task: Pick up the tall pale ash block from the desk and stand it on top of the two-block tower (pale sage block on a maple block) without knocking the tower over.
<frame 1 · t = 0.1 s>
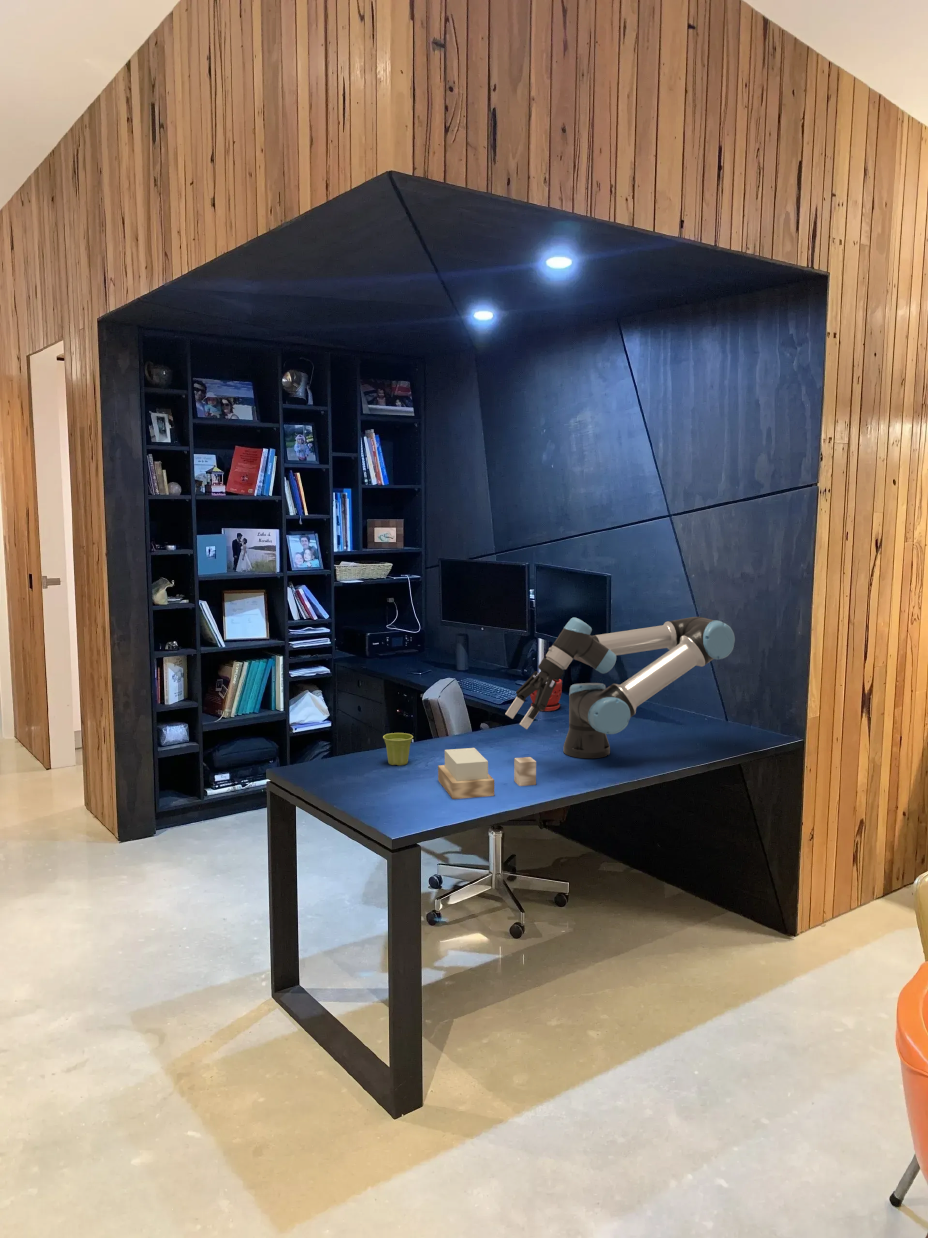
hand: (515, 721, 278), 15 cm above the table, tool tilted 35°, fingers open, 13 cm apart
ash block: (524, 783, 267), on the table
top block: (465, 772, 262), point 4 cm above the table, touching bottom block
plant pot 2: (545, 709, 364), on the table
bottom block: (465, 789, 263), on the table, touching top block
plant pot: (398, 763, 288), on the table
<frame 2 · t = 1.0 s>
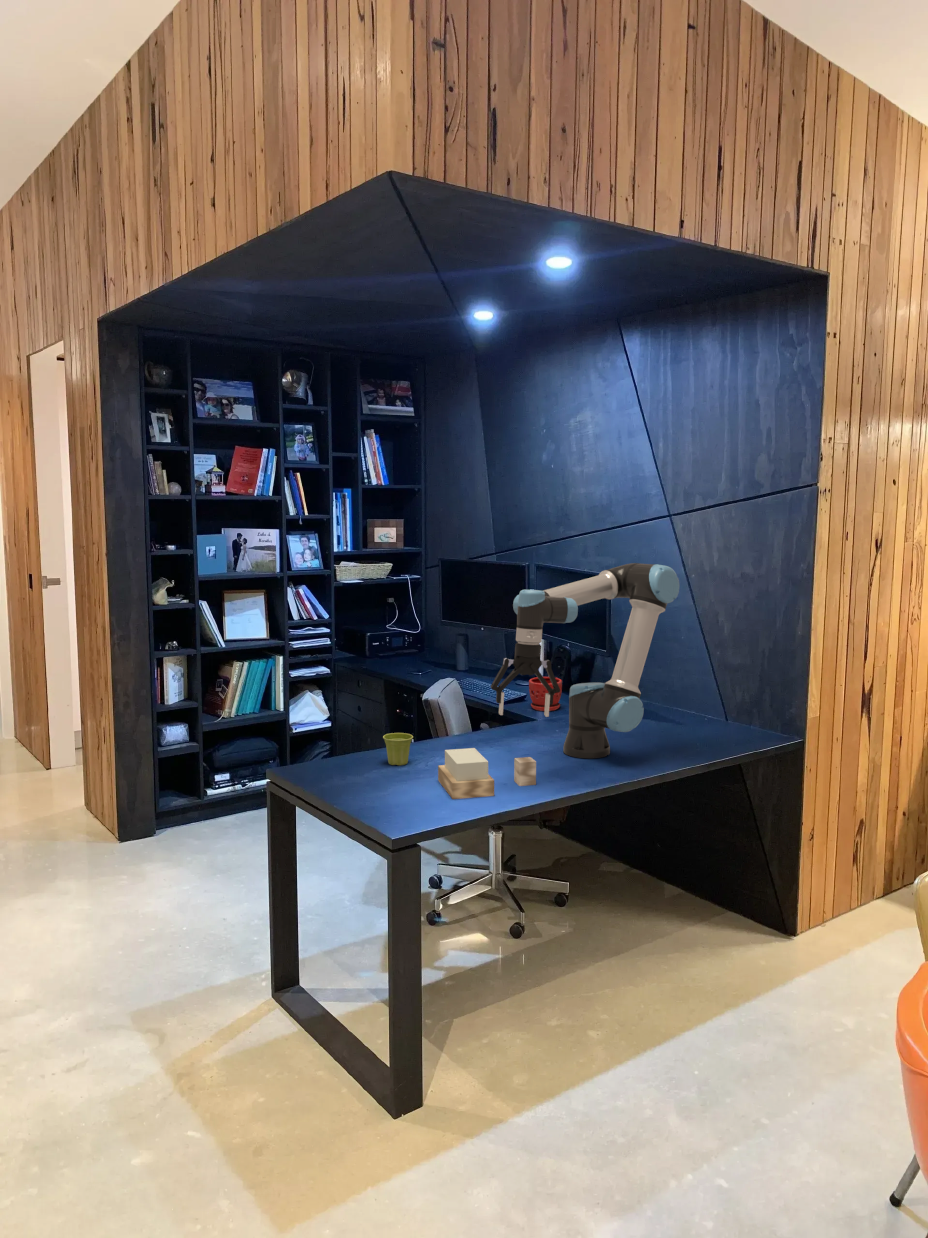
hand: (523, 715, 267), 20 cm above the table, tool pointing down, fingers open, 13 cm apart
nothing on the table moved.
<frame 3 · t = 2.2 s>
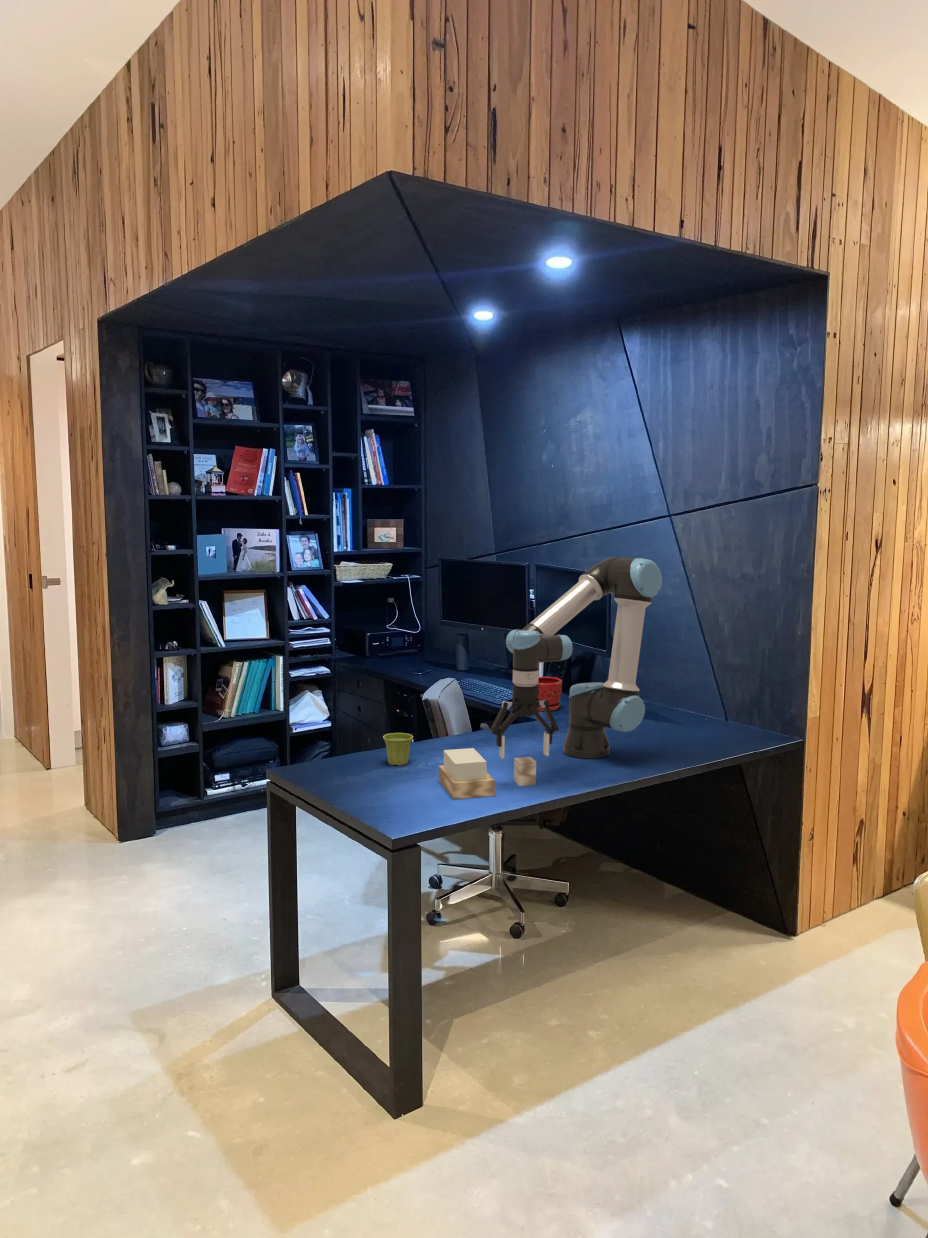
hand: (524, 756, 266), 8 cm above the table, tool pointing down, fingers open, 13 cm apart
nothing on the table moved.
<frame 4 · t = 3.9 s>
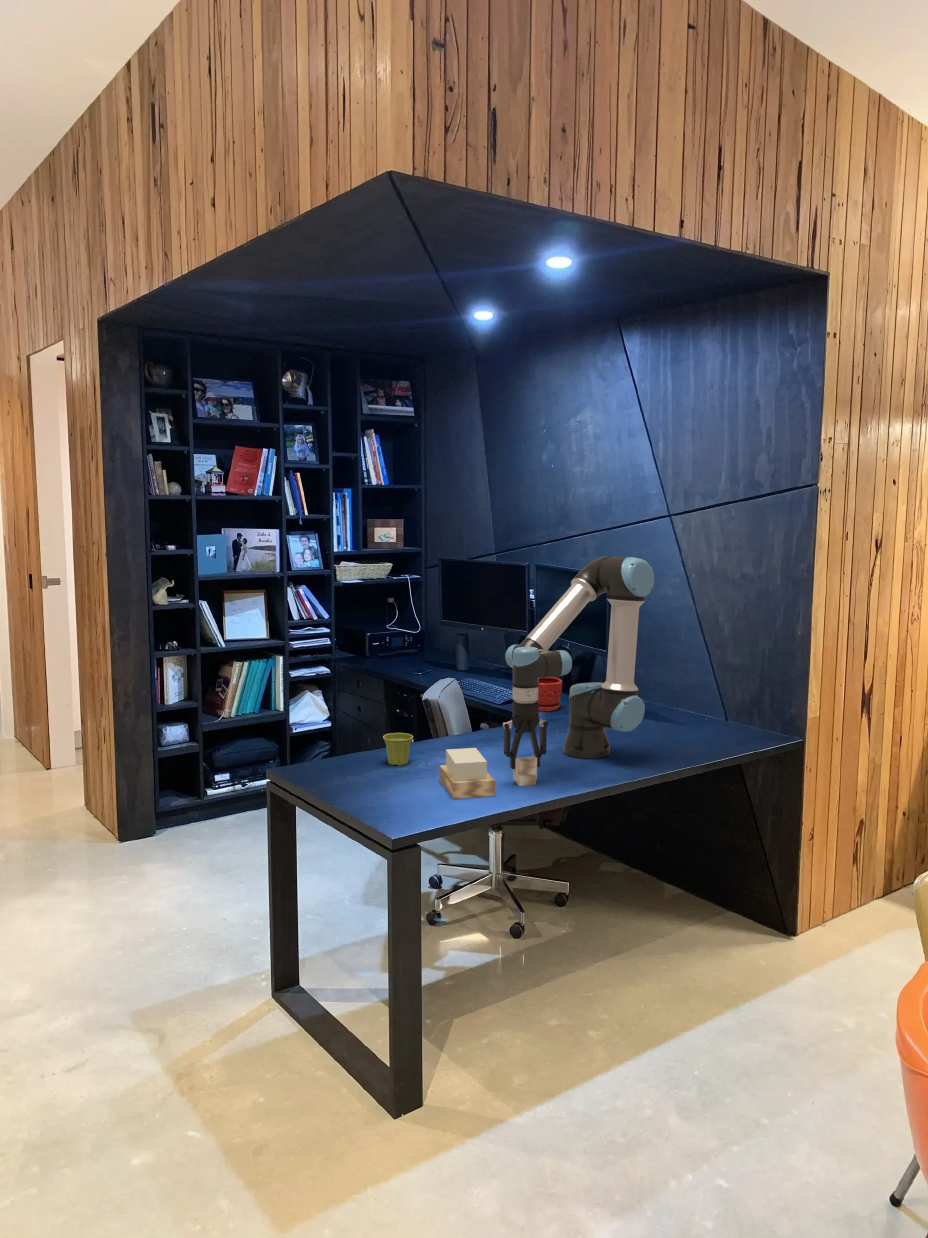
hand: (524, 778, 267), 1 cm above the table, tool pointing down, fingers closed on ash block, 5 cm apart
ash block: (524, 783, 267), on the table, touching gripper
everything else where it was.
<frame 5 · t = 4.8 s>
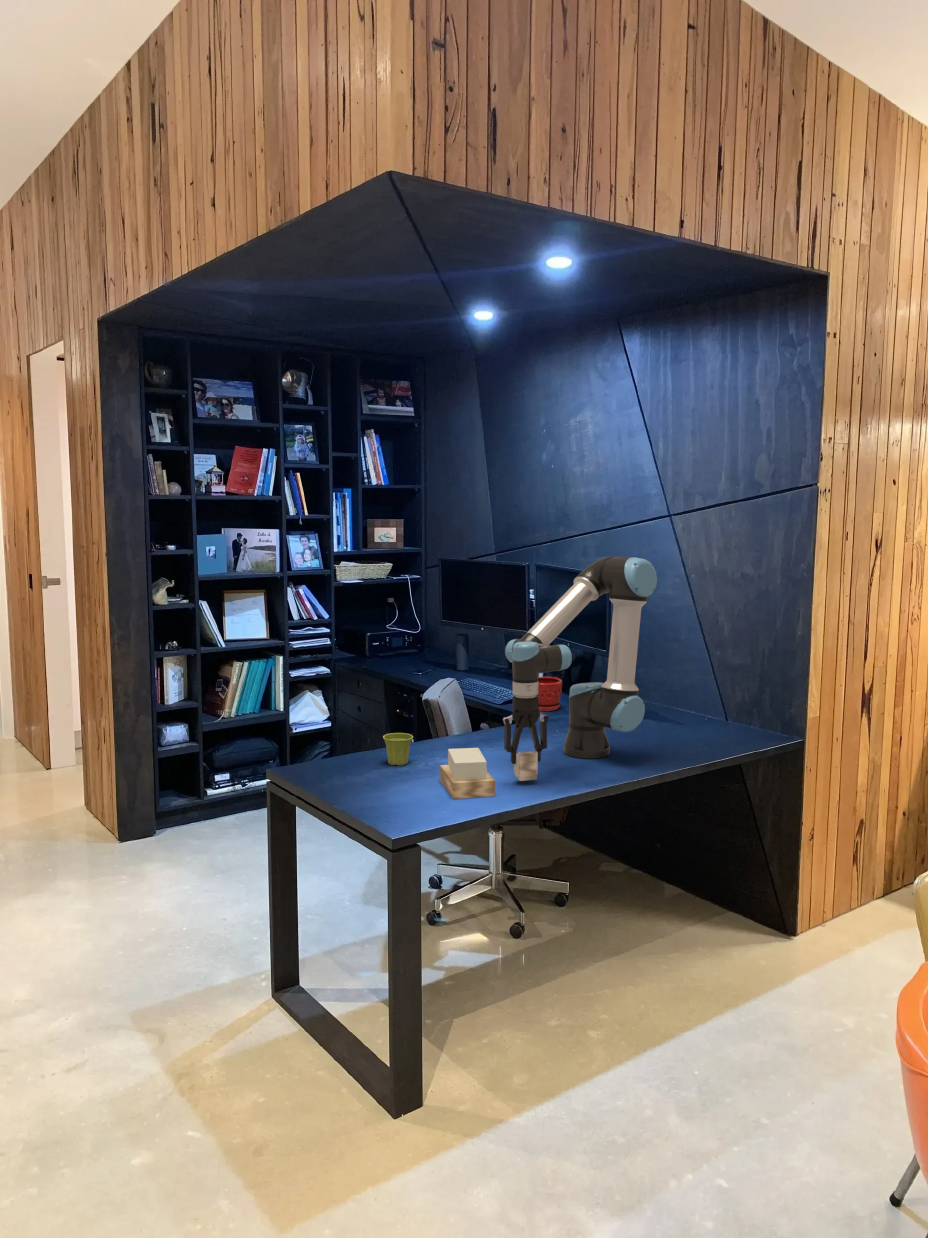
hand: (525, 773, 267), 3 cm above the table, tool pointing down, fingers closed on ash block, 5 cm apart
ash block: (525, 777, 267), point 1 cm above the table, touching gripper
everything else where it was.
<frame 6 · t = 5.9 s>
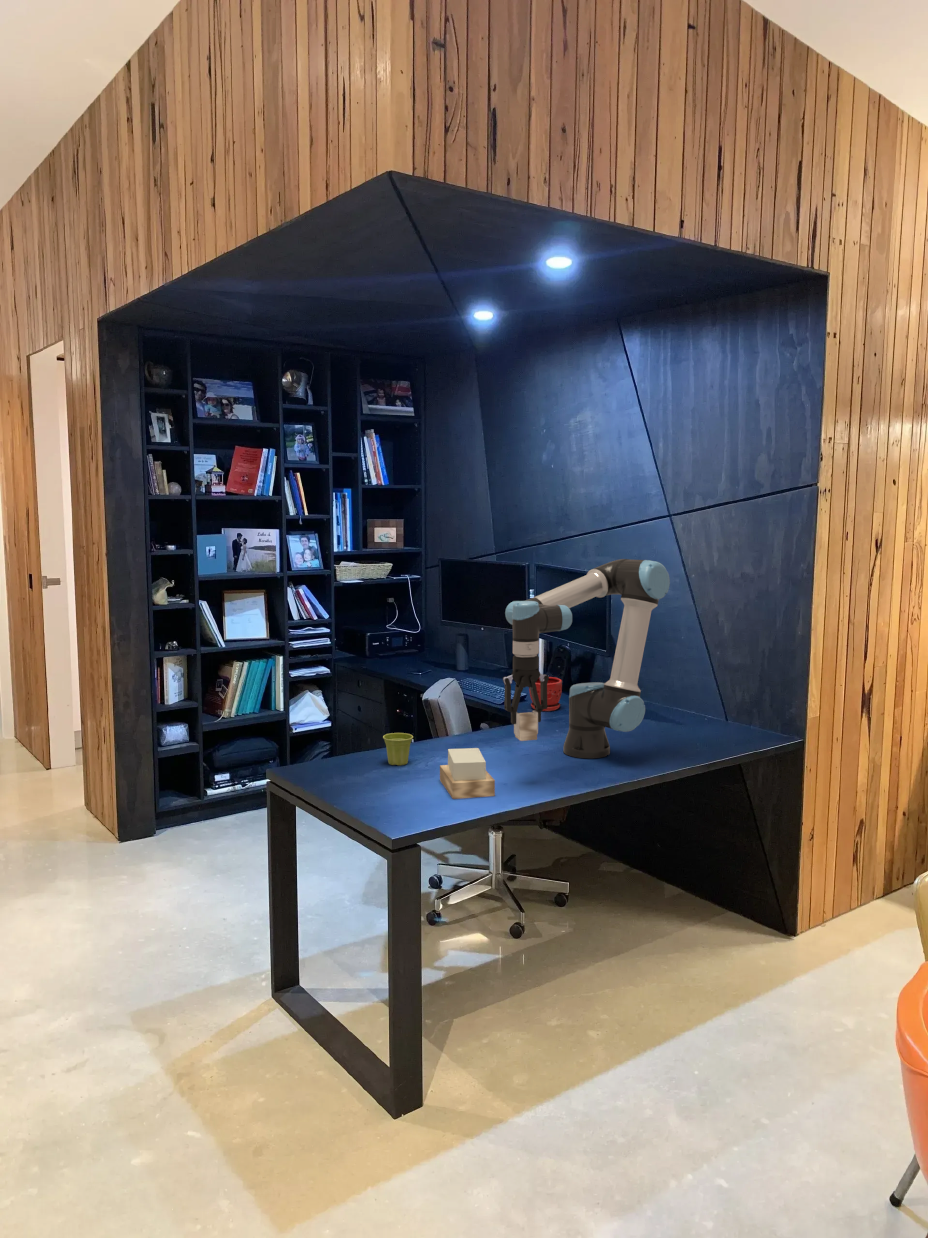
hand: (526, 733, 266), 15 cm above the table, tool pointing down, fingers closed on ash block, 5 cm apart
ash block: (526, 738, 266), point 13 cm above the table, touching gripper
top block: (466, 772, 262), point 4 cm above the table
bottom block: (466, 789, 263), on the table
everything else where it was.
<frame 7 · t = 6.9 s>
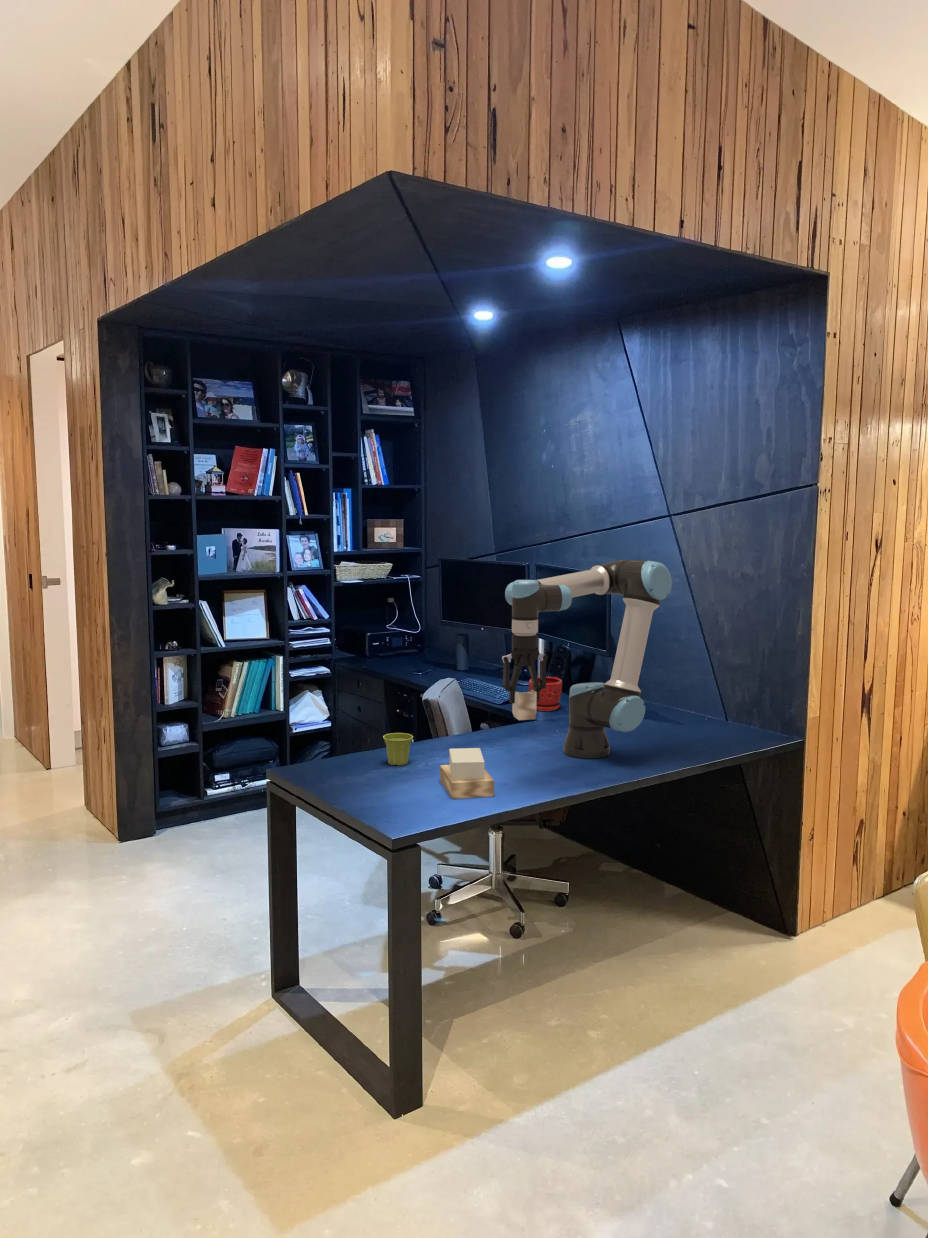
hand: (524, 713, 265), 21 cm above the table, tool pointing down, fingers closed on ash block, 5 cm apart
ash block: (524, 717, 265), point 19 cm above the table, touching gripper
everything else where it was.
when the fingers open (13 cm above the table, at t = 10.5 s): ash block drops 2 cm, resting on top block.
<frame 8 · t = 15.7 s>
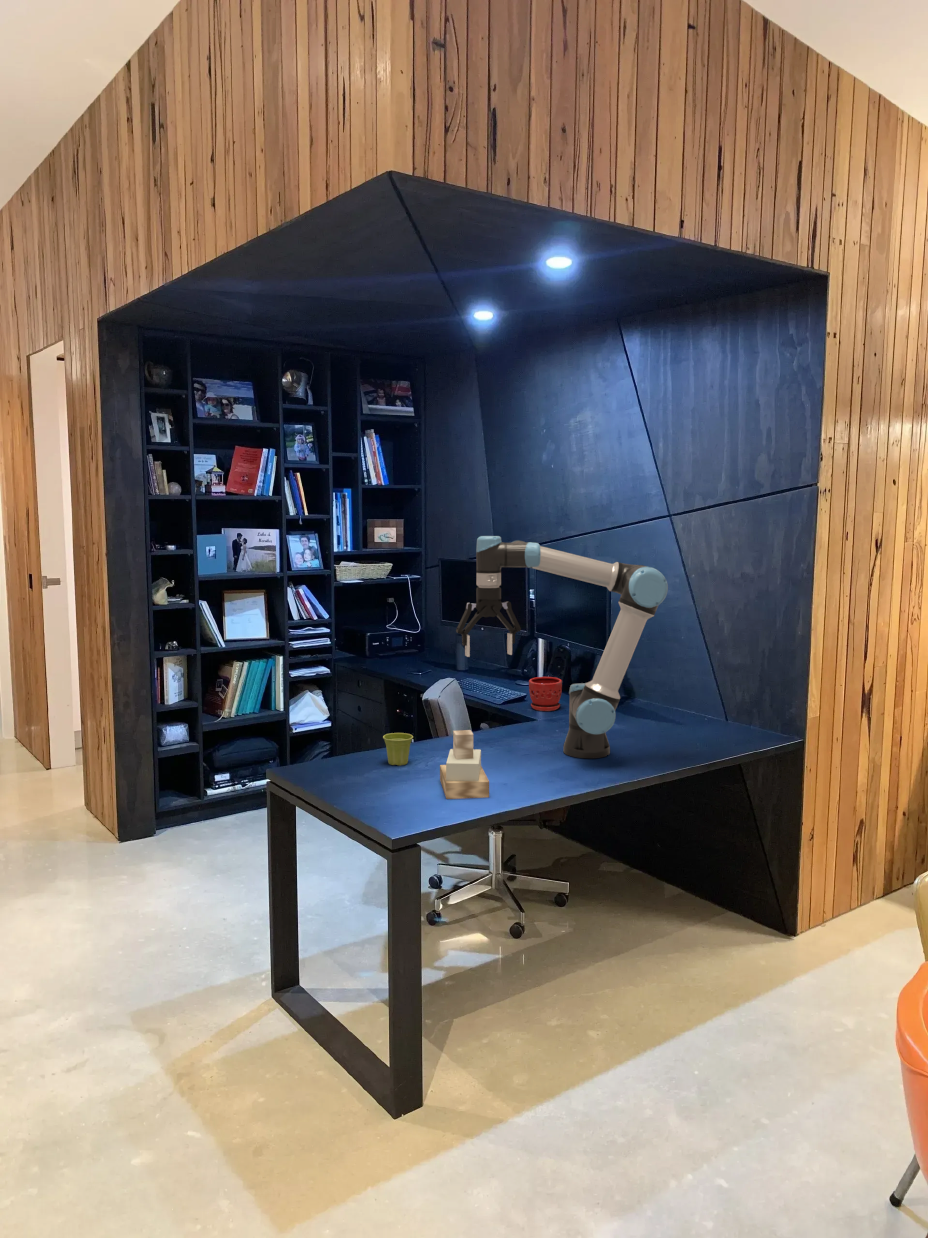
hand: (488, 655, 282), 35 cm above the table, tool pointing down, fingers open, 13 cm apart
ash block: (463, 756, 261), point 10 cm above the table, touching top block
top block: (464, 773, 261), point 5 cm above the table, touching ash block, bottom block
bottom block: (463, 790, 262), on the table, touching top block
everything else where it was.
at the end: ash block inside the target area on the top block (0.4 cm from its centre), point 5.0 cm above the top block's base; top block 0.2 cm off-centre on the bottom block, point 5.0 cm above the bottom block's base; ash block tilted 0° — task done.
